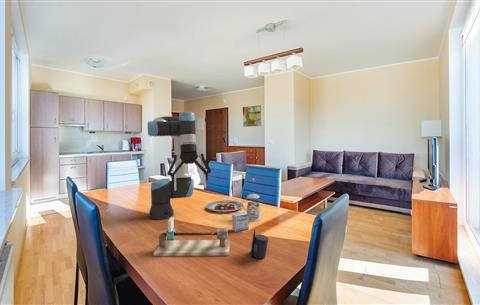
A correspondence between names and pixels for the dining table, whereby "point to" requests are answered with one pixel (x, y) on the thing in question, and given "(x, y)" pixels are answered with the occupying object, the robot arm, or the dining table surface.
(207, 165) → the robot arm
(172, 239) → the white slab teal box
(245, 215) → the medicine box
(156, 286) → the dining table surface
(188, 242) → the cord rig
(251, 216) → the french press
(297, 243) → the dining table surface
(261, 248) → the speaker
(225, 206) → the ceramic plate
